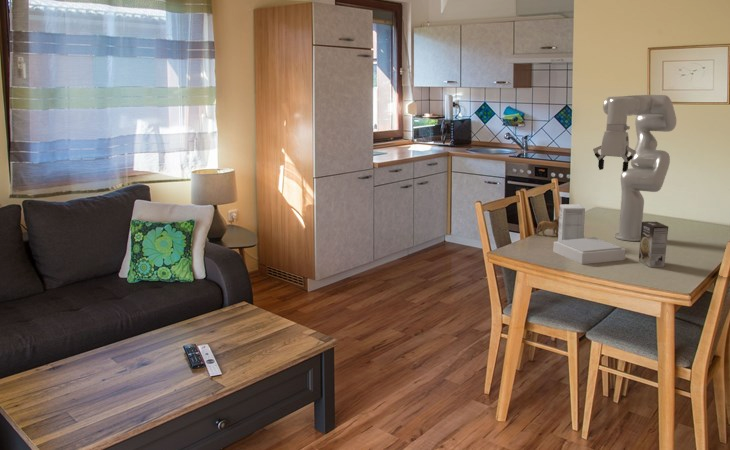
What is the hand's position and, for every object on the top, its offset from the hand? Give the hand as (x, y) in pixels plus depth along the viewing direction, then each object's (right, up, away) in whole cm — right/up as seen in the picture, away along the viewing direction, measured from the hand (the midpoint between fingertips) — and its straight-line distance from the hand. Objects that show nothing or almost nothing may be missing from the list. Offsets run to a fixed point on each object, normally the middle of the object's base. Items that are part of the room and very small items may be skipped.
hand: (612, 170), depth 273 cm
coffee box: (+10, -38, -14) cm, 42 cm away
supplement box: (-12, -31, +19) cm, 38 cm away
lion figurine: (-16, -27, +35) cm, 47 cm away
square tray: (-11, -35, -2) cm, 37 cm away
